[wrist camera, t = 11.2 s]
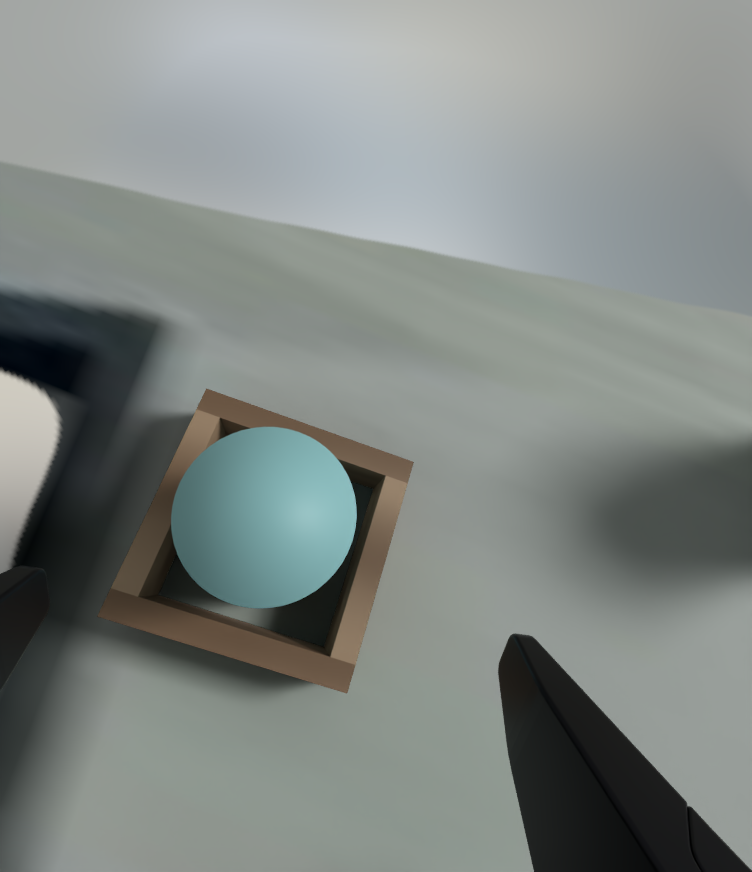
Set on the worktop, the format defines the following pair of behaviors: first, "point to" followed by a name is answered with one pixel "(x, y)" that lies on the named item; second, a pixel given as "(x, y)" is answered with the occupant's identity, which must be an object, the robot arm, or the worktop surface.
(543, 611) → the worktop surface
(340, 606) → the collar
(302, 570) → the peg
